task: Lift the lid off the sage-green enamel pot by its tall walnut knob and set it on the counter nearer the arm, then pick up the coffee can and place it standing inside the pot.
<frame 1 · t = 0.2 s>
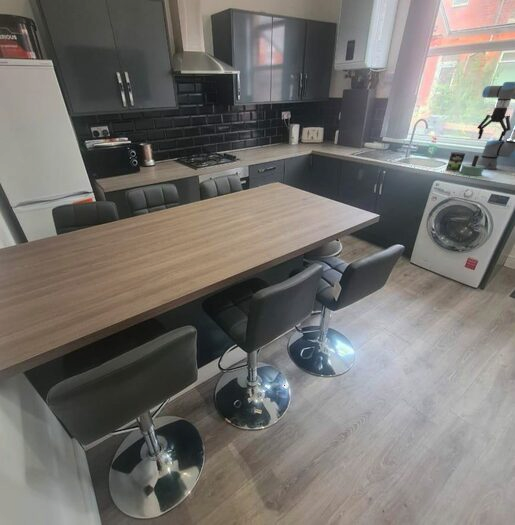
hand: (489, 140, 215), 28 cm above the breakfast bar, tool pointing down, fingers open, 13 cm apart
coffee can: (452, 170, 253), on the breakfast bar
pot lid: (473, 166, 238), point 6 cm above the breakfast bar, touching pot
pot: (470, 173, 241), on the breakfast bar
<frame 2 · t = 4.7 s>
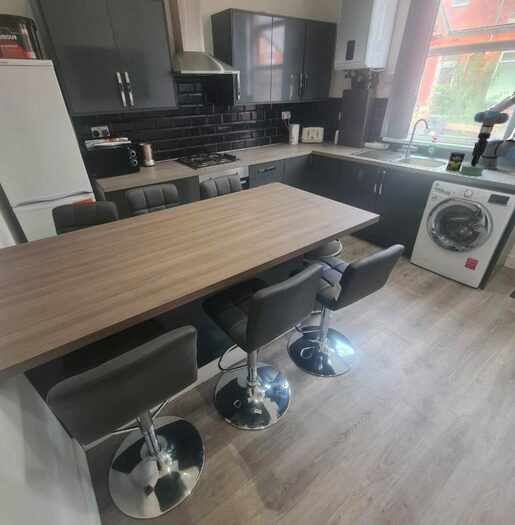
hand: (474, 164, 237), 8 cm above the breakfast bar, tool pointing down, fingers closed on pot lid, 3 cm apart
pot lid: (473, 166, 238), point 6 cm above the breakfast bar, touching gripper, pot
everything else where it was.
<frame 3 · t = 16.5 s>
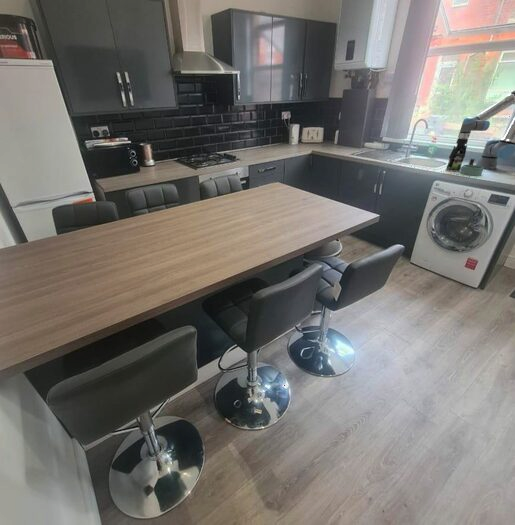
hand: (453, 166, 251), 3 cm above the breakfast bar, tool pointing down, fingers closed on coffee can, 10 cm apart
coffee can: (452, 170, 253), on the breakfast bar, touching gripper
pot lid: (469, 169, 254), point 1 cm above the breakfast bar
when the fingers open (6 cm above the breakfast bar, at t = 25.3 s): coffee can stays where it is, resting on pot.
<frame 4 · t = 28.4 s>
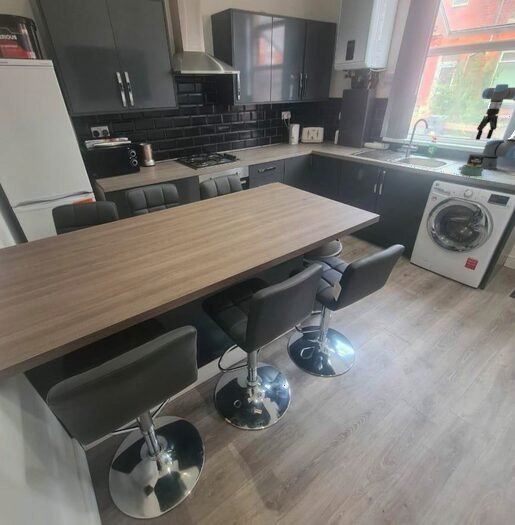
hand: (482, 139, 228), 27 cm above the breakfast bar, tool pointing down, fingers open, 13 cm apart
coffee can: (470, 173, 241), resting on pot
everything else where it was.
at the end: pot lid inside the target area (0.1 cm from its centre), point 0.6 cm above the breakfast bar; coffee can 0.0 cm off-centre in the pot, point 0.3 cm above the pot's base; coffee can tilted 0° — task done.
